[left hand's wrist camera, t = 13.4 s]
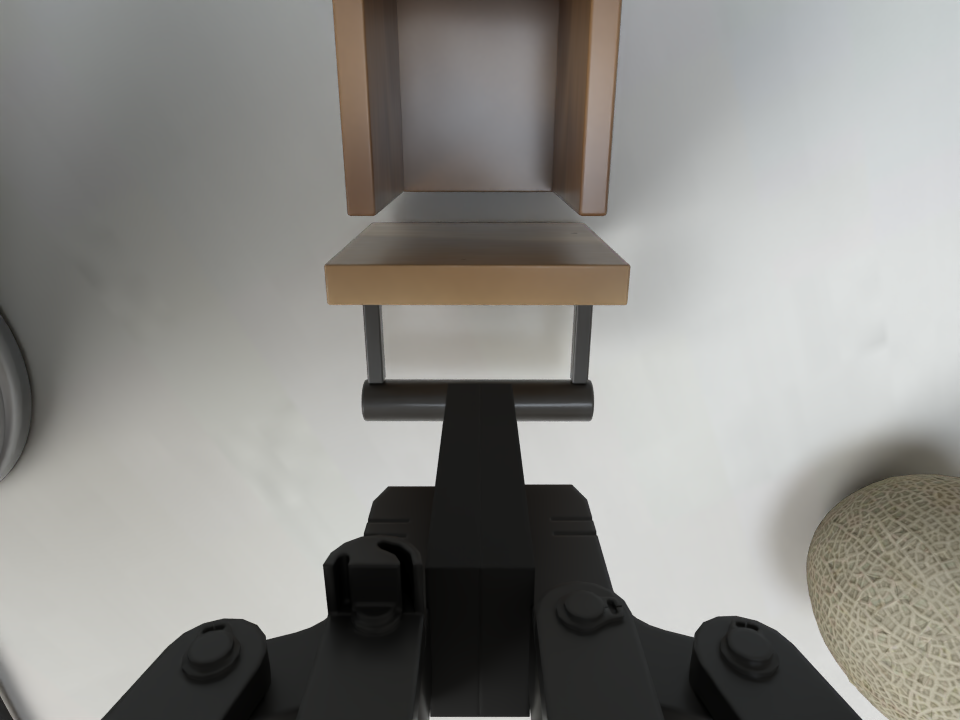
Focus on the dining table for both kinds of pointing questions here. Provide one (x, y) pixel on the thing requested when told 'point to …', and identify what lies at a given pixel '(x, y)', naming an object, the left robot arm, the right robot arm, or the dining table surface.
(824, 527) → the fruit
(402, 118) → the drawer
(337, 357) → the dining table surface
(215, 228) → the dining table surface
